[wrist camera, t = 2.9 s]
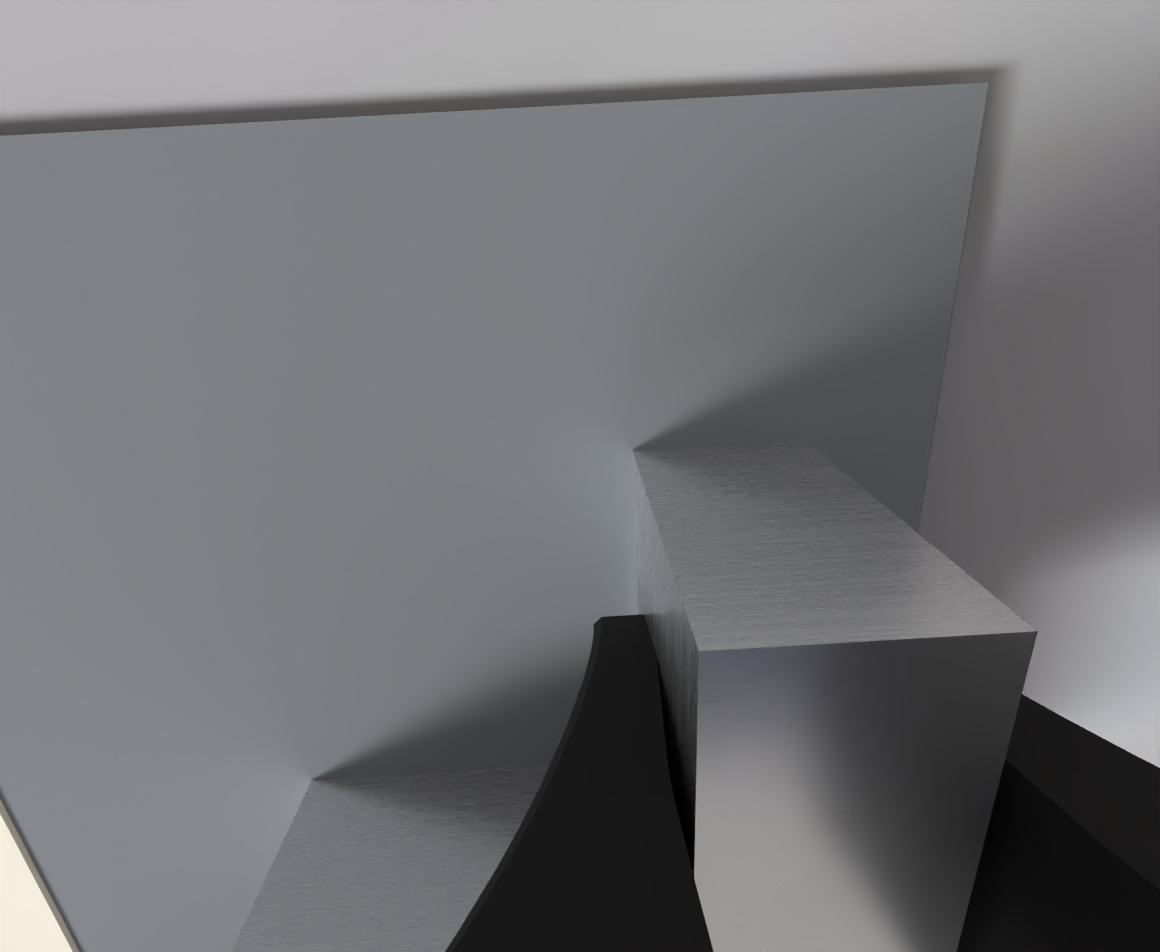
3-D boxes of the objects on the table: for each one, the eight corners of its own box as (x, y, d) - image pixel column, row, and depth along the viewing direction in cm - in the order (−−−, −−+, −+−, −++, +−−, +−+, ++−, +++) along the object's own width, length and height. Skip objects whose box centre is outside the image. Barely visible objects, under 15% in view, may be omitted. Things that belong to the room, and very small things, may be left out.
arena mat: (808, 1158, 16) (815, 1185, 16) (-42, 1212, 16) (-61, 1242, 15) (967, 90, 7) (994, 80, 7) (-873, 190, 7) (-972, 186, 7)
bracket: (770, 851, 11) (891, 1208, 7) (338, 878, 11) (206, 1252, 7) (804, 440, 9) (1037, 631, 4) (227, 472, 9) (-100, 698, 4)
